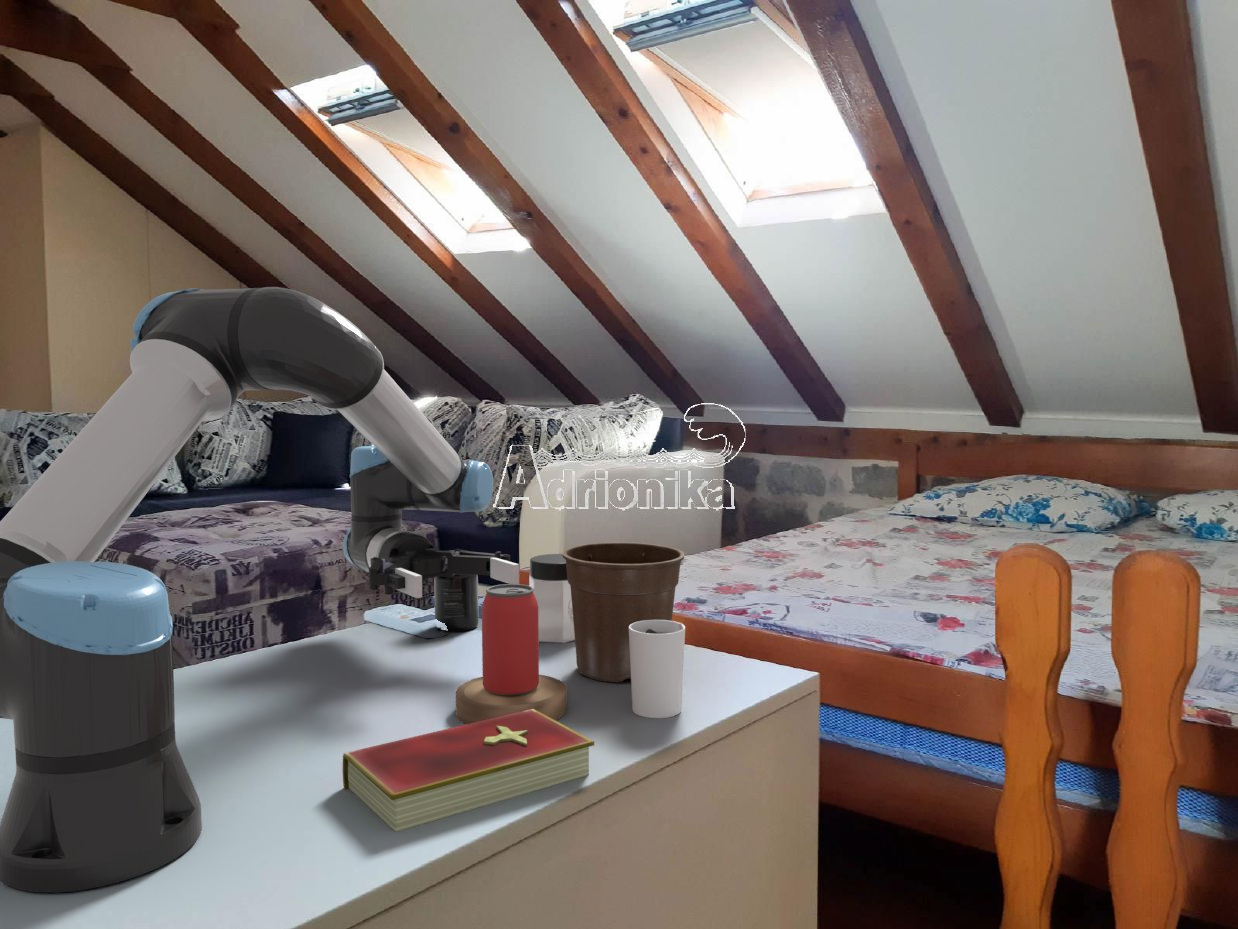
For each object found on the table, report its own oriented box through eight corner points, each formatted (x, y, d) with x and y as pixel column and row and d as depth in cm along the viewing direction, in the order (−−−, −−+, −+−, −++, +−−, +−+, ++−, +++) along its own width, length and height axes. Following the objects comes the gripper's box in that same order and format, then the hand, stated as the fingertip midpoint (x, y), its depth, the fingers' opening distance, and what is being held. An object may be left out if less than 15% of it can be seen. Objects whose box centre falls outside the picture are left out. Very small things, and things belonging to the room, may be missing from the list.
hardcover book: (343, 791, 92) (342, 749, 91) (531, 742, 104) (531, 705, 104) (393, 840, 82) (391, 792, 82) (594, 780, 94) (594, 738, 94)
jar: (552, 647, 140) (551, 566, 139) (517, 636, 146) (516, 558, 145) (597, 635, 146) (596, 558, 145) (562, 626, 152) (561, 551, 151)
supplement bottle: (487, 625, 152) (486, 551, 151) (458, 635, 147) (457, 557, 146) (455, 619, 156) (454, 547, 155) (425, 628, 150) (424, 553, 149)
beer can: (530, 699, 109) (529, 596, 108) (474, 696, 110) (473, 593, 109) (545, 682, 115) (544, 584, 114) (493, 678, 116) (492, 581, 115)
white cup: (620, 715, 111) (620, 631, 110) (639, 697, 117) (639, 617, 116) (675, 722, 109) (676, 636, 108) (691, 704, 115) (692, 622, 114)
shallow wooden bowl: (488, 739, 104) (488, 716, 104) (437, 706, 114) (436, 685, 114) (588, 714, 111) (587, 693, 111) (531, 685, 122) (531, 666, 122)
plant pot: (702, 662, 132) (703, 547, 130) (652, 696, 118) (652, 567, 116) (599, 647, 139) (598, 538, 138) (540, 678, 125) (539, 556, 124)
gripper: (480, 573, 145) (553, 597, 128) (316, 593, 131) (375, 623, 114) (479, 524, 145) (553, 542, 128) (315, 539, 130) (374, 561, 113)
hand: (469, 580), depth 121 cm, fingers open, 13 cm apart
